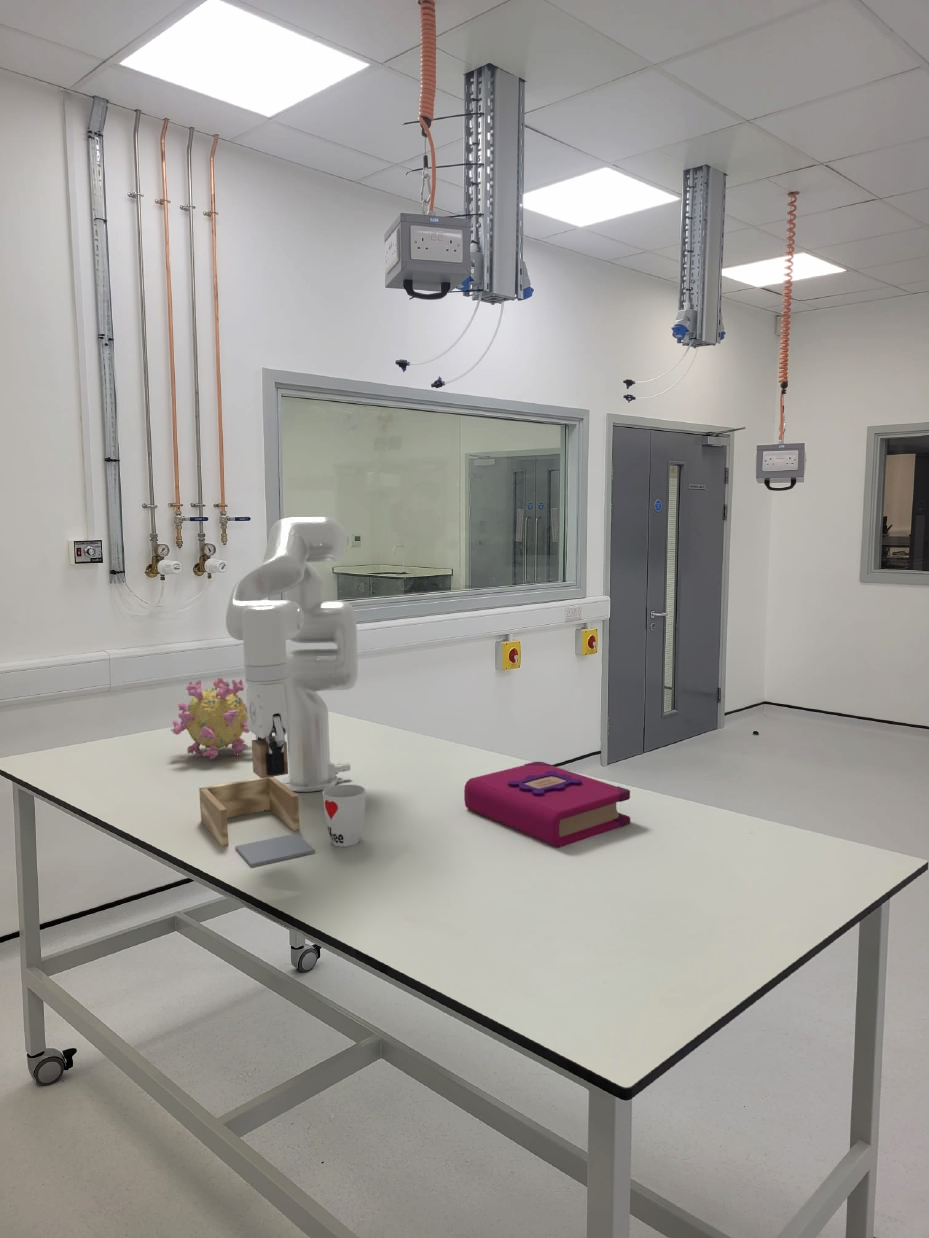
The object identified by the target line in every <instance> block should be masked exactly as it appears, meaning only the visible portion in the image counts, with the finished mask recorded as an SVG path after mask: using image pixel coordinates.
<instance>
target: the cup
mask: <svg viewBox="0 0 929 1238" xmlns="http://www.w3.org/2000/svg"><path fill="white" fill-rule="evenodd" d="M366 792H367V791H366V788H365V787H364V786H361V785H358V784H336V785H334V786H332V787H329V788H326V789H324V790H322V800H323V803H322V804H323V811H324V812H323V813H324V818H325V822H326V826H327V831H328V834H329V836H330V839H331V842H332V844H333V845H334V846H336V847H343V848H345V847H351V846H355V845H357V844H358V843H359V842H360V839H361V836H362V832H363V830H364V829H363V828H364V821H365V813H366Z"/></svg>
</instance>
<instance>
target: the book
mask: <svg viewBox="0 0 929 1238" xmlns="http://www.w3.org/2000/svg"><path fill="white" fill-rule="evenodd" d="M463 789H464V790H463V791H464V792H463V793H464V795H463V796H464V806H465V808H467V809H468V810H469V811H472V812H475V813H477V814H480V815H482V816H484V817H487V818H488V819H491V820H494V821H495V822H498V823H501V824H502V825H504V826H508V827H510V828H513V829H514V830H516V831H519V832H522V833H524V834H526V835H528V836H531V837H532V838H535V839H538V840H540V841H543V842H545V843H547V844H549V845H552V846H554V847H557V848H562V847H565V846H569V845H571V844H574V843H577V842H580V841H583V840H585V839H589V838H592V837H595V836H598V835H601V834H604V833H606V832H609V831H613V830H616V829H619V828H623V827H626V826H629V825H630V824H631V817H630V816H629V815H626V814H623V813H620V812H618V811H617V803H621V802H624V801H628V800H630V798H631V790H630V789H628V788H624V787H623V786H618V785H617V786H616V785H613V784H609V783H608V782H607V783H606V782H604V781H601V780H597V779H596V778H595V779H594V778H591V777H588V776H586V775H582V774H578V773H575V772H572V771H569V770H567V769H563V768H560V767H558V766H554V765H553V764H550V763H547V762H545V761H533V762H528V763H525V764H523V765H520V766H519V765H518V766H515V767H512V768H507V769H503V770H499V771H494V772H491V773H487V774H484V775H480V776H475V777H472V778H469V779H468V780H467V781H466V783H465V784H464V788H463Z"/></svg>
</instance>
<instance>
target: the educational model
mask: <svg viewBox="0 0 929 1238" xmlns="http://www.w3.org/2000/svg"><path fill="white" fill-rule="evenodd" d="M212 684H213V686H214V688H213V687H211V688H207V689H204V690H203V691H202V686H201V685H202V681H201V679H198V680H197V681H195V683H193V682H191V681H189V683H188V685H187V686H186V689H185V690H186V691H188V696H192V697H193V698H191V701H189V702H185V703H184V702H180V703H178V704H177V707H178V709H179V710H178V711H181V712H180V713H178V714H177V715H178V718H179V719H180V722H179V721H177V720H175V719H174V720H172V725H173V728H171V729H170V730H169V731H170V732H172V733H173V734H174V735H176V736H177V735H180V734H181V733H182V732H184V731H185V730H186V731H187V732H188V734H189V735H190V737H191V740H192V741H193V742H194V743H193V744H192V745H190V746H188V747H187V749H186V750H187V754H186V755H189V754H193V755H194V753H195V754H196V756H199V755H200V756H204V757H205V758H206V757H209V759H210V760H214V759H215V758H216V757H217V756H218V755H219V751H218V750H219V749H222V748H228V747H229V745H231V749H232V750H233V751H232V753H233V755H234V756H236V755H237V754H238V755H237V756H241V754H244V753H243V752H242V751H243V750H245V749H246V748H248V744H246V741H245V739H243V738H241V736H243V733H246V734H249V733H250V731H249V730H248V728H247V703H245V702H244V700H243V698H241V696H239V695H238V693H239V692H243V691H244V690H245V689H244V688H245V687H244V685H243V680H242V678H241V679H240V680H239V681H236V679H232V681H231V684H232V688H231V687H230V683H229V682H228V681H224V680H223V678H222V677H217V680H214V681H213V683H212ZM201 746H203V747H204V749H207V750H206V751H204V752H203V751H202V749H201V748H200V747H201Z"/></svg>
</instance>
